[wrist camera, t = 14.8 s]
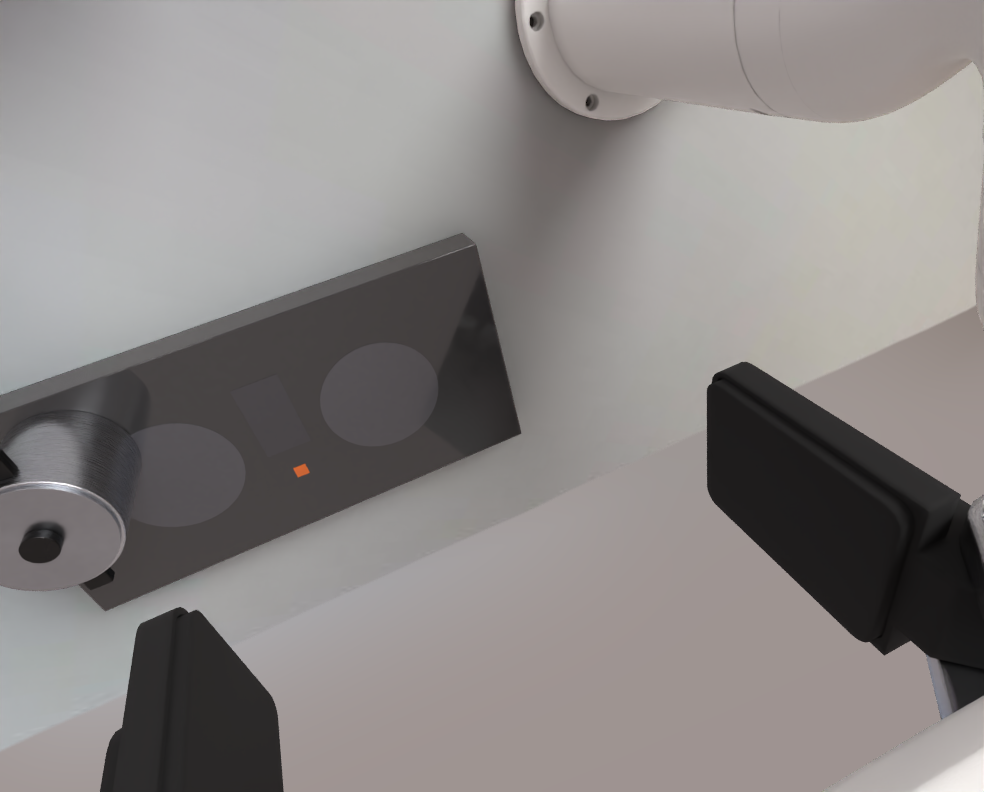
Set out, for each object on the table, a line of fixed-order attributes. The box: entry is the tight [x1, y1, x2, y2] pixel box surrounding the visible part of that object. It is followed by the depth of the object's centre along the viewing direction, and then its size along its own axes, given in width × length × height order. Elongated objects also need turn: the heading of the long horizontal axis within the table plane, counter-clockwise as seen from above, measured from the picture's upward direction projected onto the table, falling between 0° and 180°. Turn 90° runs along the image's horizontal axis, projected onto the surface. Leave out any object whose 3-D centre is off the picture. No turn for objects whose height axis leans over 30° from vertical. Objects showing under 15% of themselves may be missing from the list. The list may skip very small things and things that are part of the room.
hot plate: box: [0, 233, 521, 611], centre depth 38 cm, size 30×15×2 cm, turn 102°
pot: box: [0, 411, 142, 591], centre depth 30 cm, size 7×9×7 cm
